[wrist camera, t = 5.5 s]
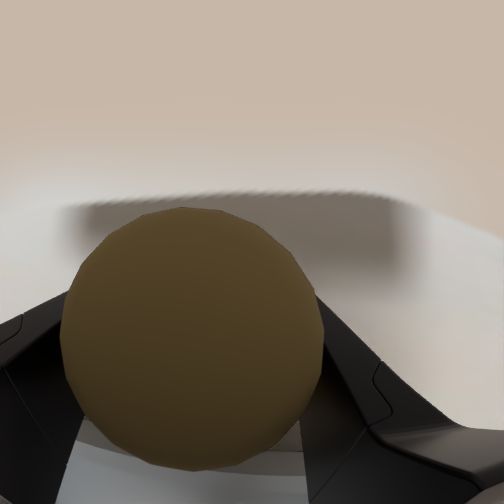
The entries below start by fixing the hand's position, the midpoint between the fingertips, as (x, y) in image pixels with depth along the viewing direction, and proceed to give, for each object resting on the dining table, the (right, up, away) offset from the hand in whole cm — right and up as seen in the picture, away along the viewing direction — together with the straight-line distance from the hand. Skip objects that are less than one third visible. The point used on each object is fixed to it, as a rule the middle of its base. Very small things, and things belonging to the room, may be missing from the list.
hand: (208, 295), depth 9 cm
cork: (0, -3, +6) cm, 7 cm away
